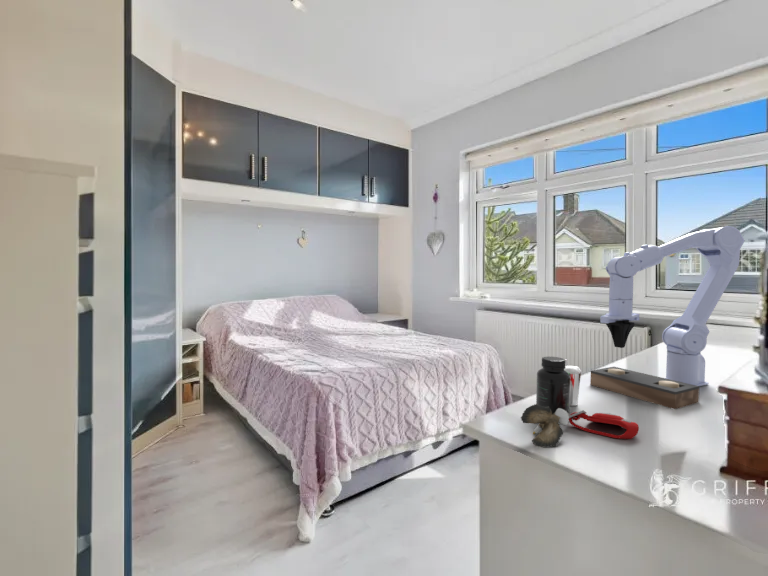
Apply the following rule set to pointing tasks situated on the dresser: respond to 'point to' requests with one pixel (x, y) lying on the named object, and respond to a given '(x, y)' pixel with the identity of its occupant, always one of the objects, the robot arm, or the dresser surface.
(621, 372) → the peg
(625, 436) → the tracker holder
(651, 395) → the block
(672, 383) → the peg
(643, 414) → the dresser surface
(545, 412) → the eagle figurine
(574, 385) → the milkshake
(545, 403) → the supplement bottle
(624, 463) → the dresser surface
